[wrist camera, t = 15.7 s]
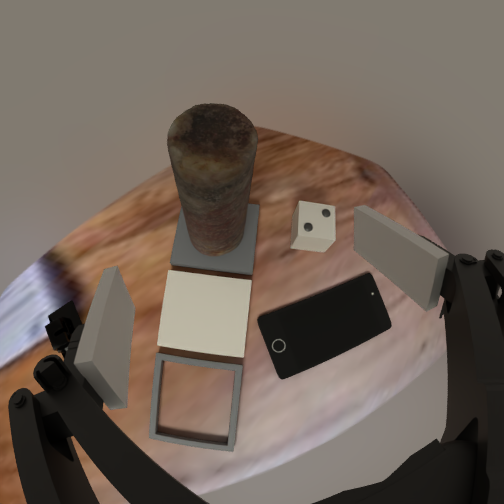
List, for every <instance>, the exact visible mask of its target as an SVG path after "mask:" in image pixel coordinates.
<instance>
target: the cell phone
mask: <svg viewBox="0 0 504 504" xmlns="http://www.w3.org/2000/svg"><path fill="white" fill-rule="evenodd" d="M257 321H258V325H259V328H260V330H261V333H262V336H263V338H264V341H265V344H266V346H267V349H268V351H269V354H270V356H271V359H272V362H273V364H274V367H275V369H276V372H277V374H278V376H279V378H280V379H286V378H288V377H291V376H293V375H295V374H298V373H300V372H303V371H305V370H307V369H309V368H312V367H314V366H316V365H318V364H321V363H323V362H325V361H327V360H329V359H331V358H334V357H336V356H338V355H340V354H342V353H344V352H346V351H348V350H350V349H352V348H354V347H356V346H358V345H360V344H362V343H364V342H366V341H368V340H370V339H371V338H373V337H375V336H377V335H379V334H381V333H382V332H384V331H386V330H388V329H390V328H391V321H390V318H389V316H388V313H387V310H386V308H385V305H384V303H383V300H382V298H381V295H380V293H379V290H378V288H377V286H376V283H375V281H374V279H373V276H372V275H371V274H370V273H367V274H365V275H363V276H361V277H358V278H356V279H354V280H351V281H349V282H347V283H344V284H342V285H339V286H337V287H335V288H332V289H330V290H327V291H325V292H323V293H320V294H318V295H315V296H313V297H310V298H308V299H305V300H303V301H300V302H298V303H295V304H292V305H290V306H287V307H285V308H282V309H279V310H277V311H274V312H271V313H269V314H266V315H263V316H260V317H259V318H258V320H257Z"/></svg>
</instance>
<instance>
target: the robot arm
mask: <svg viewBox="0 0 504 504" xmlns="http://www.w3.org/2000/svg"><path fill="white" fill-rule="evenodd" d="M354 251H356V252H357V253H358V254H359V255H361V256H362V257H363V258H364V259H365V260H367V261H368V262H369V263H370V264H372V265H373V266H374V267H375V268H376V269H378V270H379V271H380V272H381V273H382V274H384V275H385V276H386V277H387V278H388V279H390V280H391V281H392V282H393V283H394V284H395V285H397V286H398V287H399V288H400V289H401V290H402V291H403V292H405V293H406V294H407V295H408V296H409V297H410V298H411V299H413V300H414V301H415V302H416V303H417V304H418V305H419V306H420V307H422V308H423V309H424V310H425V311H426V312H427V311H428V310H430V309H432V308H434V307H436V306H437V304H438V300H439V297H440V295H441V296H442V297H443V298H444V303H443V306H442V310H441V313H440V317H439V318H442V315H443V314H444V319H445V329H446V343H447V363H448V401H447V420H446V428H445V431H444V434H443V436H442V439H441V442H440V443H439V441H438V440H437V439H435V440H434V441H432V442H431V443H429V444H428V445H427V446H425V447H424V448H422V449H421V450H419V451H417V452H416V453H414V454H413V455H411V456H410V457H409V458H408V459H407V460H406V461H405V462H404V463H403V464H402V465H401V466H400V467H399V468H398V469H397V470H396V471H394V473H392V474H391V475H390V476H389V477H388V478H387V479H385V480H384V481H382V482H379V483H376V484H372V485H368V486H364V487H360V488H355V489H351V490H347V491H343V492H341V493H338V494H336V495H333V496H331V497H329V498H326V499H323V500H321V501H318V502H315V503H312V504H504V254H503V253H502V252H501V251H499V250H498V251H497V250H488V251H487V252H486V256H485V260H480V261H478V260H477V259H476V258H474V257H473V256H471V255H468V254H458V255H456V256H454V255H453V254H451V253H450V252H448V251H447V250H445V249H443V248H442V247H440V246H439V245H438V246H437V244H435V243H434V242H431V240H429V239H427V238H426V237H424V236H421V235H417V234H416V233H414V232H412V231H411V230H409V229H407V228H405V227H404V226H402V225H400V224H399V223H397V222H395V221H393V220H391V219H390V218H388V217H386V216H384V215H382V214H381V213H379V212H377V211H375V210H373V209H371V208H369V207H368V206H366V205H362V206H358V207H354ZM500 287H501V289H502V295H501V297H500V298H499V296H498V295H497V294H498V291H499V288H500ZM134 316H135V306H134V304H133V302H132V300H131V297H130V295H129V293H128V290H127V288H126V286H125V283H124V281H123V279H122V276H121V274H120V271H119V269H118V266H114V267H110V268H107V269H104V271H103V274H102V276H101V279H100V282H99V285H98V287H97V290H96V293H95V296H94V298H93V301H92V304H91V307H90V310H89V313H88V316H87V319H86V323H85V324H82V325H78V327H77V328H76V329H75V331H74V332H73V333H72V336H71V339H70V343H69V345H68V348H67V349H68V350H67V352H66V355H65V358H64V362H63V361H62V359H61V358H60V357H59V356H58V355H49V356H46V357H45V358H43V359H41V360H40V361H39V362H38V363H37V365H36V367H35V368H34V373H33V375H34V378H35V380H36V381H37V382H38V383H39V384H40V386H41V387H42V388H43V389H44V390H45V391H43V392H40V393H38V394H36V395H33V394H32V393H31V391H30V390H28V389H27V388H21V389H18V390H17V391H16V392H14V393H13V394H12V396H11V398H10V400H9V405H8V409H9V419H10V427H11V435H12V442H13V448H14V453H15V458H16V463H17V468H18V472H19V476H20V480H21V484H22V488H23V492H24V495H25V498H26V502H27V504H99V502H98V500H97V498H96V496H95V494H94V492H93V490H92V488H91V485H90V483H89V481H88V479H87V477H86V474H85V472H84V470H83V468H82V465H81V463H80V460H79V458H78V455H77V453H76V450H75V447H74V445H73V442H72V439H71V436H74V437H75V438H76V440H77V441H78V442H79V444H80V445H81V447H82V448H83V449H84V451H85V452H86V453H87V455H88V456H89V457H90V459H91V460H92V461H93V462H94V464H95V465H96V466H97V467H98V468H99V470H100V471H101V472H102V473H103V474H104V476H105V477H106V478H107V479H108V480H109V481H110V483H111V484H112V485H113V486H114V487H115V488H116V489H117V490H118V491H119V492H120V493H121V495H122V496H123V497H124V498H125V499H126V500H127V501H128V502H129V503H130V504H209V503H208V502H206V501H204V500H203V499H202V498H200V497H199V496H197V495H196V494H195V493H193V492H192V491H191V490H189V489H188V488H186V487H185V486H184V485H183V484H181V483H180V482H179V481H177V480H176V479H175V478H174V477H172V476H171V475H170V474H169V473H167V472H166V471H165V470H164V469H163V468H161V467H160V466H159V465H158V464H157V463H156V462H154V461H153V460H152V459H151V458H150V457H149V456H148V455H147V454H145V453H144V452H143V451H142V450H141V449H140V448H139V447H138V446H137V445H136V444H135V443H134V442H133V441H132V440H131V439H130V438H129V437H128V436H127V435H126V434H125V433H124V432H123V431H122V430H121V429H120V428H119V427H118V426H117V425H116V424H115V423H114V422H113V421H112V420H111V419H110V418H109V417H108V415H107V414H106V413H105V412H104V411H103V402H104V403H105V404H106V405H107V406H108V408H109V409H110V410H113V409H121V408H127V400H128V380H129V365H130V353H131V342H132V333H133V324H134Z"/></svg>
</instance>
